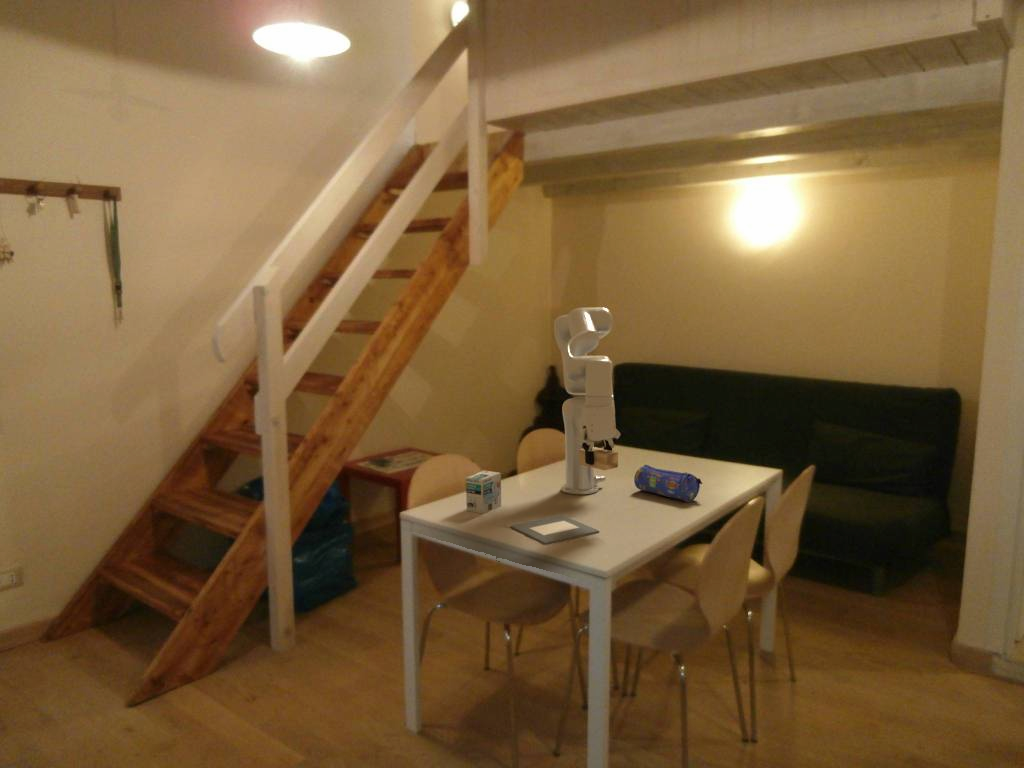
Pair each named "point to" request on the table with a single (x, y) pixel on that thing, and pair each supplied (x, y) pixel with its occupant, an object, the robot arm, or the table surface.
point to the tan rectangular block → (601, 459)
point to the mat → (554, 529)
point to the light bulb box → (483, 491)
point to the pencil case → (667, 483)
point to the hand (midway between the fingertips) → (598, 461)
